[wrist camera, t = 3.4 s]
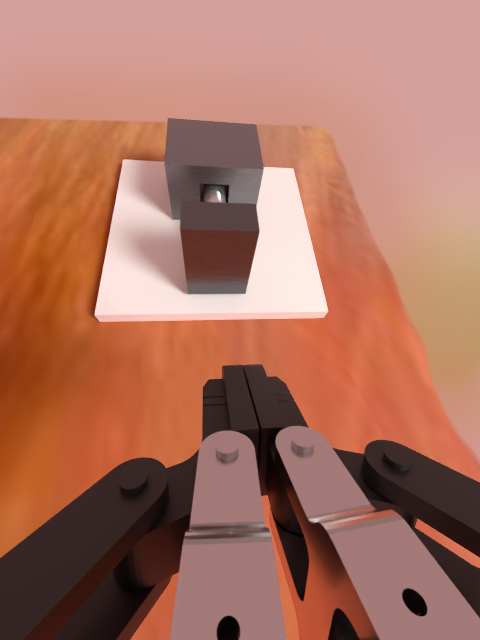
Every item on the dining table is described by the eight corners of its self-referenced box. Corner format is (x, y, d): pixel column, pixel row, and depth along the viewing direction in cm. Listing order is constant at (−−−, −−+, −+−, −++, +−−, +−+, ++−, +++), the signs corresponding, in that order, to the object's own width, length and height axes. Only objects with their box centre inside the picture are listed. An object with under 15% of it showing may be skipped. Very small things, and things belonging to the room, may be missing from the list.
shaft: (187, 294, 28) (179, 229, 20) (189, 168, 37) (184, 89, 29) (245, 293, 29) (259, 231, 21) (233, 171, 38) (240, 94, 30)
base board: (99, 321, 28) (94, 314, 27) (126, 169, 39) (123, 159, 37) (323, 317, 31) (328, 311, 30) (290, 177, 42) (293, 168, 40)
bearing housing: (172, 219, 33) (164, 163, 27) (174, 176, 37) (167, 118, 30) (253, 221, 34) (263, 169, 28) (248, 179, 38) (256, 124, 32)
